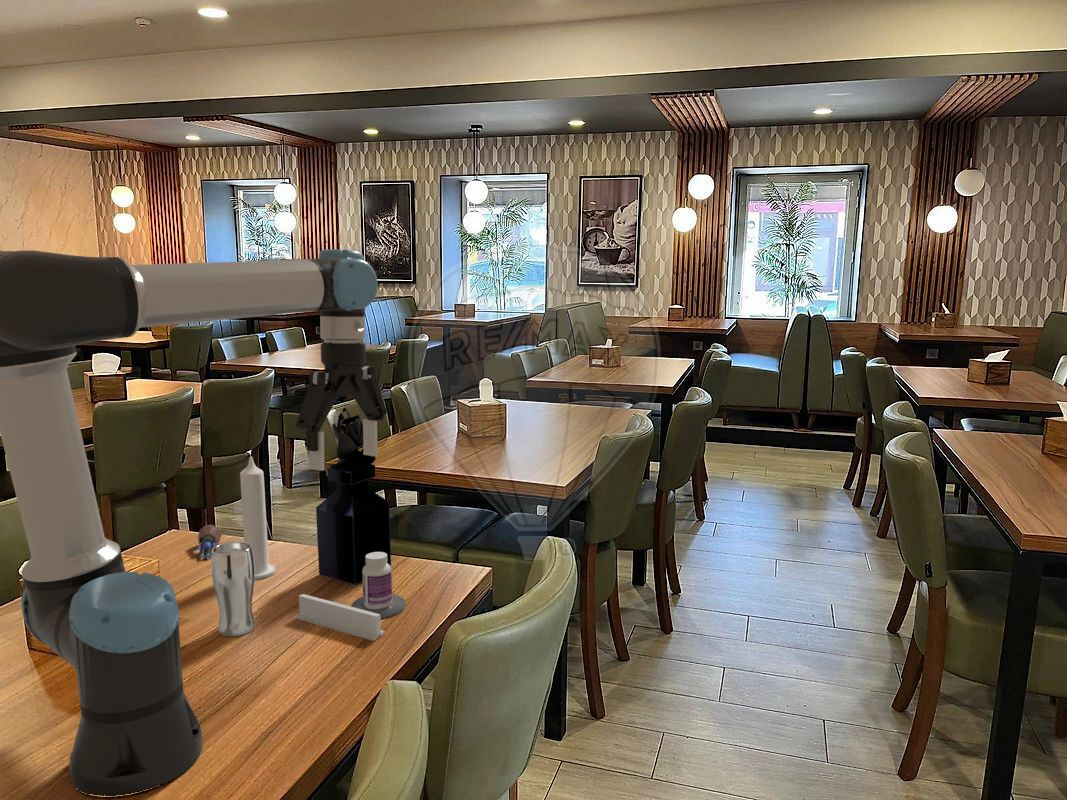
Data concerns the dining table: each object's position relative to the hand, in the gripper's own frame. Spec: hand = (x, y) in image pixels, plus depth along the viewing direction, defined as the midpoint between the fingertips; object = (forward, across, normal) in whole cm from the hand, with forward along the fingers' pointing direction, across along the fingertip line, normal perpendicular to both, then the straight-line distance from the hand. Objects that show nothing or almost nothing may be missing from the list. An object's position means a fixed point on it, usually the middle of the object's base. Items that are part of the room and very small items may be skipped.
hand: (344, 462), depth 136 cm
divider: (+29, -3, -1) cm, 29 cm away
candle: (+29, +8, +31) cm, 43 cm away
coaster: (+29, +7, -2) cm, 30 cm away
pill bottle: (+28, +7, -2) cm, 29 cm away
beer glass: (+30, -12, +14) cm, 35 cm away
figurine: (+29, +12, +51) cm, 60 cm away
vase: (+29, +19, +14) cm, 37 cm away
